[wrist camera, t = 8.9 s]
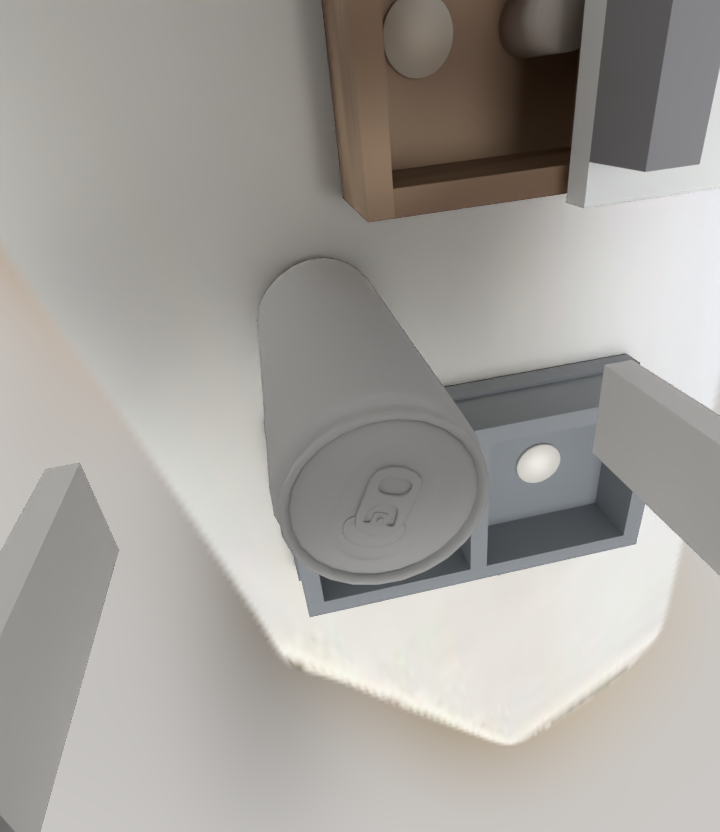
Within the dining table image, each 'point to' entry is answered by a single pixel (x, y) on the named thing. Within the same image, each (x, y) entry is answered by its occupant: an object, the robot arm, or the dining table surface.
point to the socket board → (521, 486)
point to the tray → (452, 101)
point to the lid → (646, 101)
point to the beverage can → (360, 433)
